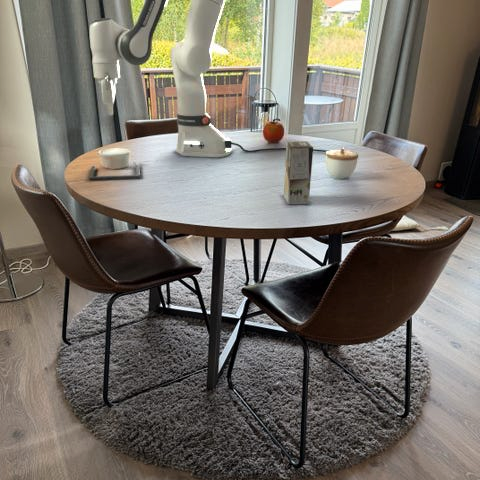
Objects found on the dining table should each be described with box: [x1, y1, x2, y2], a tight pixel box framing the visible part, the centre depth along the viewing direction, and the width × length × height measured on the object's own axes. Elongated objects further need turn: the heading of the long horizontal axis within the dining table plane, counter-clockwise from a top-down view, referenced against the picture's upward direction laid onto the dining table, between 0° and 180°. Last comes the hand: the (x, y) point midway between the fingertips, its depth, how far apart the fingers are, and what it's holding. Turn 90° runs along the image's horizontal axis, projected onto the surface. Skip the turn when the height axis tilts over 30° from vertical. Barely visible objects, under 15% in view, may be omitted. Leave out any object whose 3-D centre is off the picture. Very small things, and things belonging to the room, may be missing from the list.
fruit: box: [262, 117, 285, 144], centre depth 216 cm, size 10×10×10 cm
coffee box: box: [283, 140, 314, 205], centre depth 144 cm, size 9×6×16 cm
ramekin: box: [97, 147, 132, 170], centre depth 178 cm, size 11×11×5 cm
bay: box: [88, 164, 141, 182], centre depth 170 cm, size 15×16×1 cm
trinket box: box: [325, 147, 359, 180], centre depth 168 cm, size 11×11×9 cm
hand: (110, 114), depth 180 cm, fingers closed
